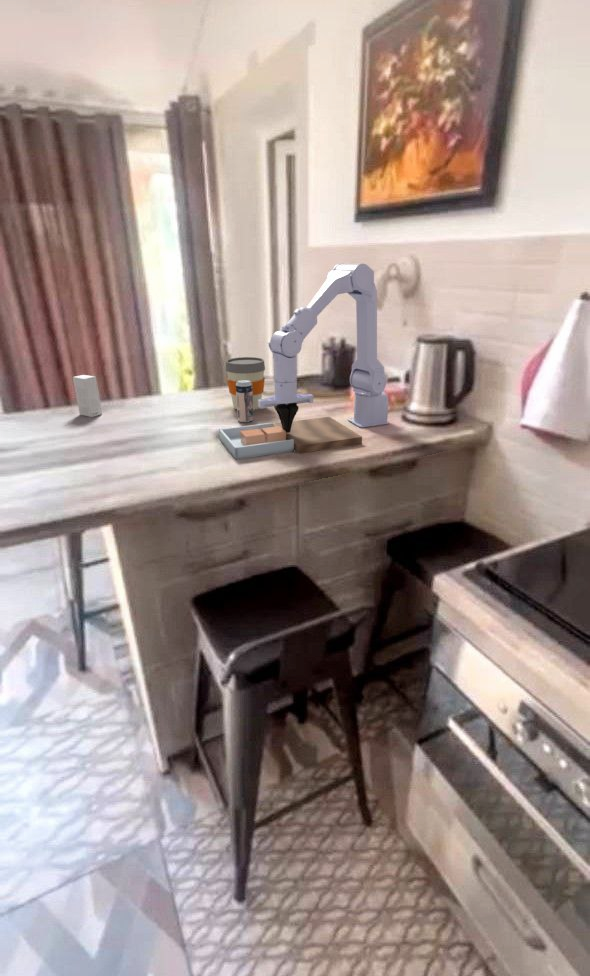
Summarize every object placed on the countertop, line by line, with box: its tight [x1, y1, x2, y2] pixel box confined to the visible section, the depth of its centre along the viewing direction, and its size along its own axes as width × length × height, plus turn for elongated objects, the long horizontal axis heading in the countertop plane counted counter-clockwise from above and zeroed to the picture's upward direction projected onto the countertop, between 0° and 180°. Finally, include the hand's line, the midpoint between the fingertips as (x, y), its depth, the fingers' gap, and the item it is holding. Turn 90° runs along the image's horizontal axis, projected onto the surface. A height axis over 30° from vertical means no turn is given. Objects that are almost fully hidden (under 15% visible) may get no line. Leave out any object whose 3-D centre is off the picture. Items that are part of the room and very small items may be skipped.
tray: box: [218, 422, 295, 460], centre depth 134 cm, size 15×16×3 cm
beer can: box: [236, 380, 255, 423], centre depth 152 cm, size 5×5×12 cm
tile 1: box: [240, 429, 265, 446], centre depth 133 cm, size 5×5×3 cm
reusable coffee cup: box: [225, 356, 266, 411], centre depth 165 cm, size 13×13×15 cm
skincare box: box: [72, 374, 103, 418], centre depth 159 cm, size 6×4×12 cm
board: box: [273, 416, 363, 454], centre depth 139 cm, size 18×20×2 cm
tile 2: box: [261, 426, 286, 443], centre depth 135 cm, size 5×5×3 cm
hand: (286, 431), depth 136 cm, fingers closed
